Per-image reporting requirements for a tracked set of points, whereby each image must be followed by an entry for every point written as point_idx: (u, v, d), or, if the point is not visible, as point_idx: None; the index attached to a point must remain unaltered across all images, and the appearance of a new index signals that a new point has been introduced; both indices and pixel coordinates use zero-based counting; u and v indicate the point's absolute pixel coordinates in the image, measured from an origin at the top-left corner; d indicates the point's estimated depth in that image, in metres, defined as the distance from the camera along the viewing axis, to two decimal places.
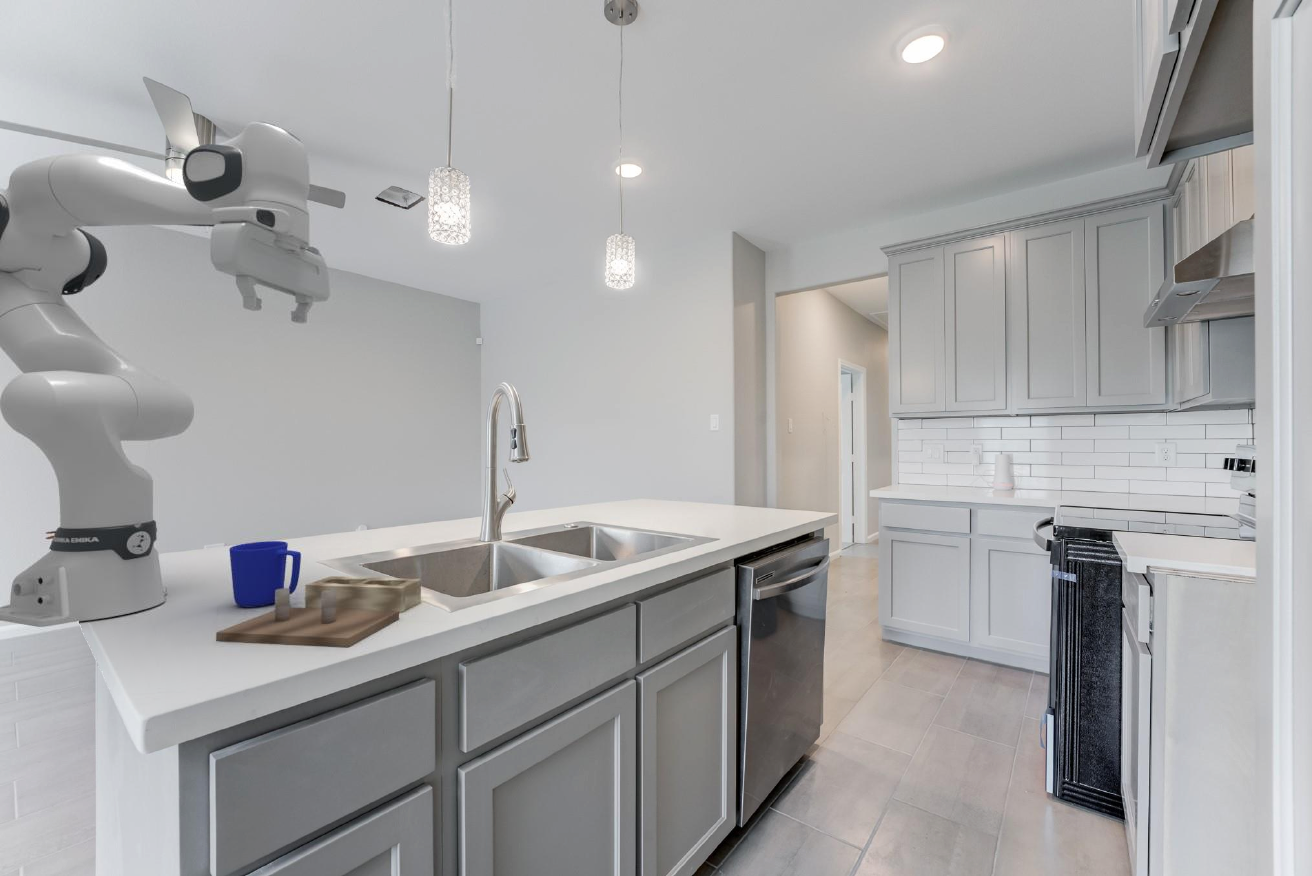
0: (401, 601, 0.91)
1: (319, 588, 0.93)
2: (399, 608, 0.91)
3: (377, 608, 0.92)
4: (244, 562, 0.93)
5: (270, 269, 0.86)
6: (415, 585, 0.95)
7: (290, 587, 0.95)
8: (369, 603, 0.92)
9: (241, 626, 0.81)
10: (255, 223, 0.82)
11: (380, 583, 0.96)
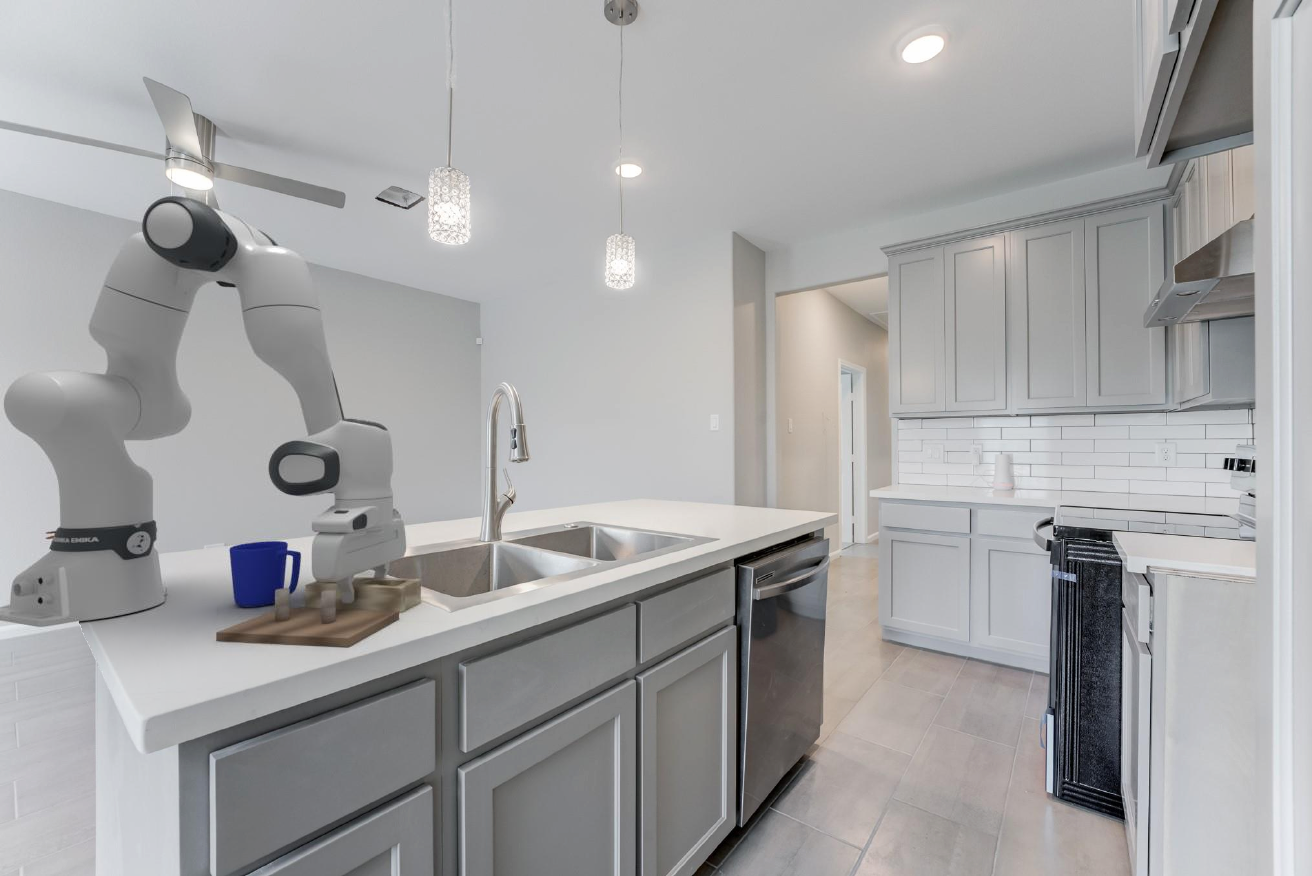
0: (401, 601, 0.91)
1: (319, 588, 0.93)
2: (399, 608, 0.91)
3: (377, 608, 0.92)
4: (244, 562, 0.93)
5: (361, 562, 0.92)
6: (415, 585, 0.95)
7: (290, 587, 0.95)
8: (369, 603, 0.92)
9: (241, 626, 0.81)
10: (351, 532, 0.88)
11: (380, 583, 0.96)
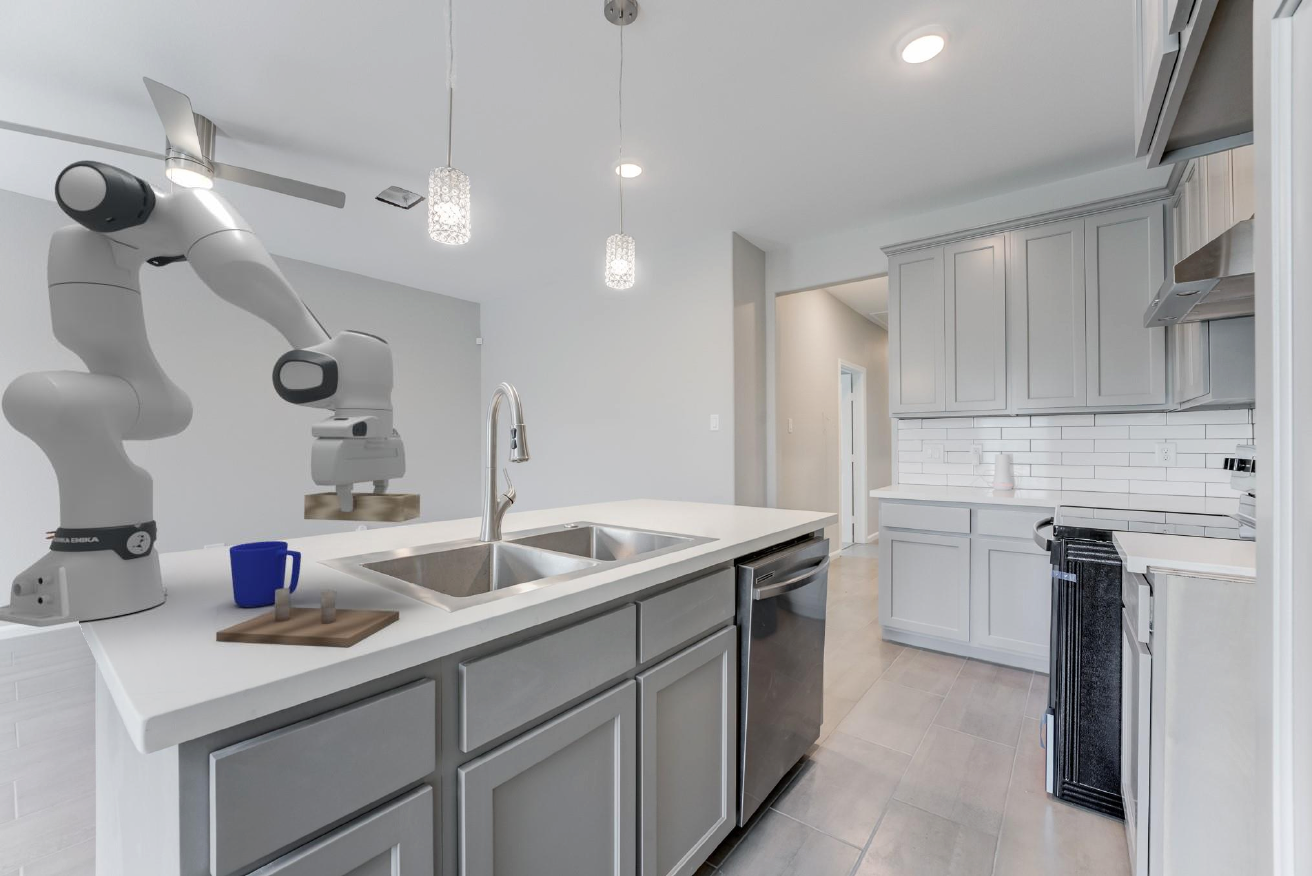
0: (400, 511, 0.91)
1: (318, 498, 0.93)
2: (398, 517, 0.91)
3: (376, 518, 0.92)
4: (244, 562, 0.93)
5: (360, 471, 0.92)
6: (414, 498, 0.95)
7: (290, 587, 0.95)
8: (368, 513, 0.92)
9: (241, 626, 0.81)
10: (351, 437, 0.88)
11: None
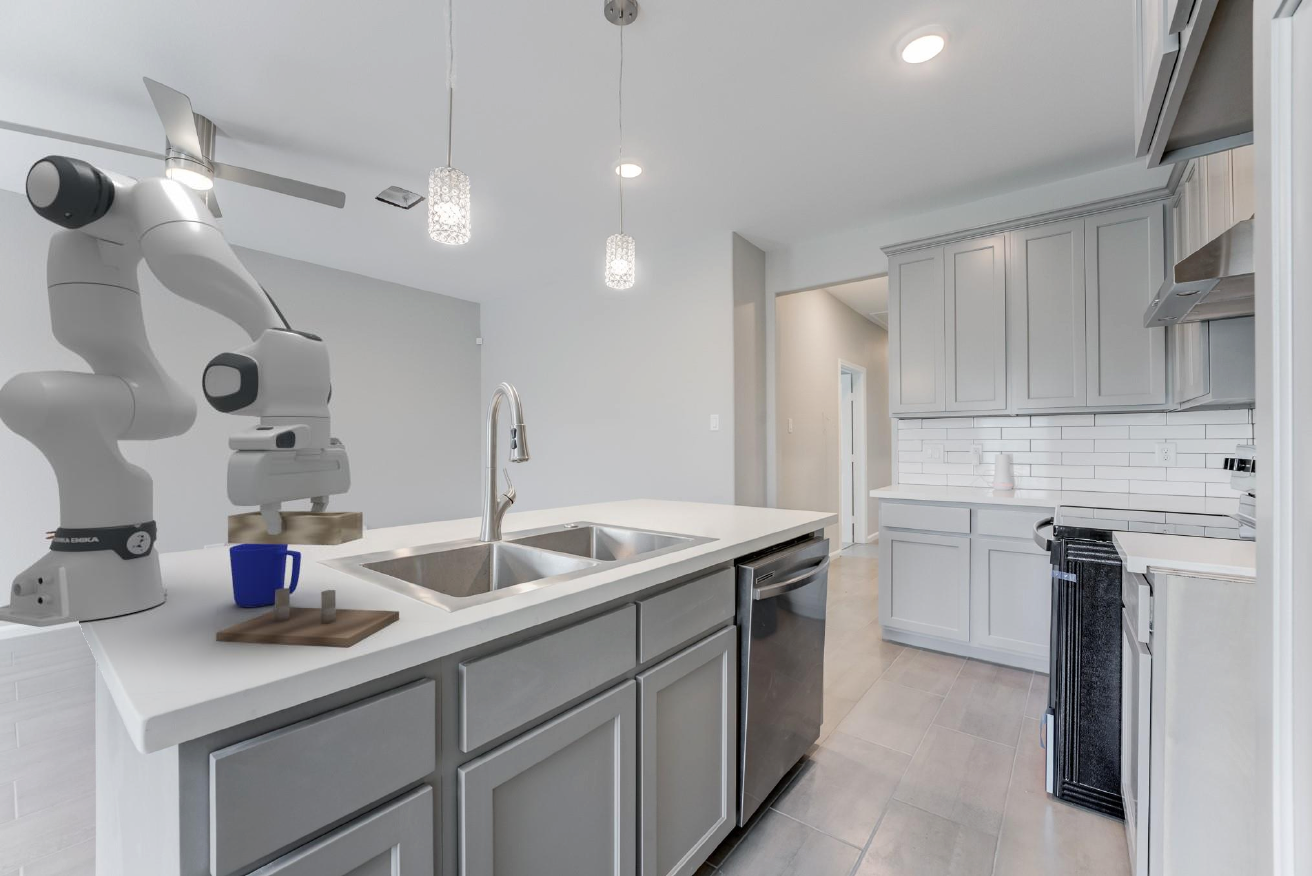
0: (336, 532, 0.80)
1: (243, 519, 0.81)
2: (333, 540, 0.80)
3: (309, 541, 0.80)
4: (244, 562, 0.93)
5: (289, 488, 0.80)
6: (355, 517, 0.84)
7: (290, 587, 0.95)
8: (300, 535, 0.80)
9: (241, 626, 0.81)
10: (275, 450, 0.76)
11: (316, 516, 0.85)
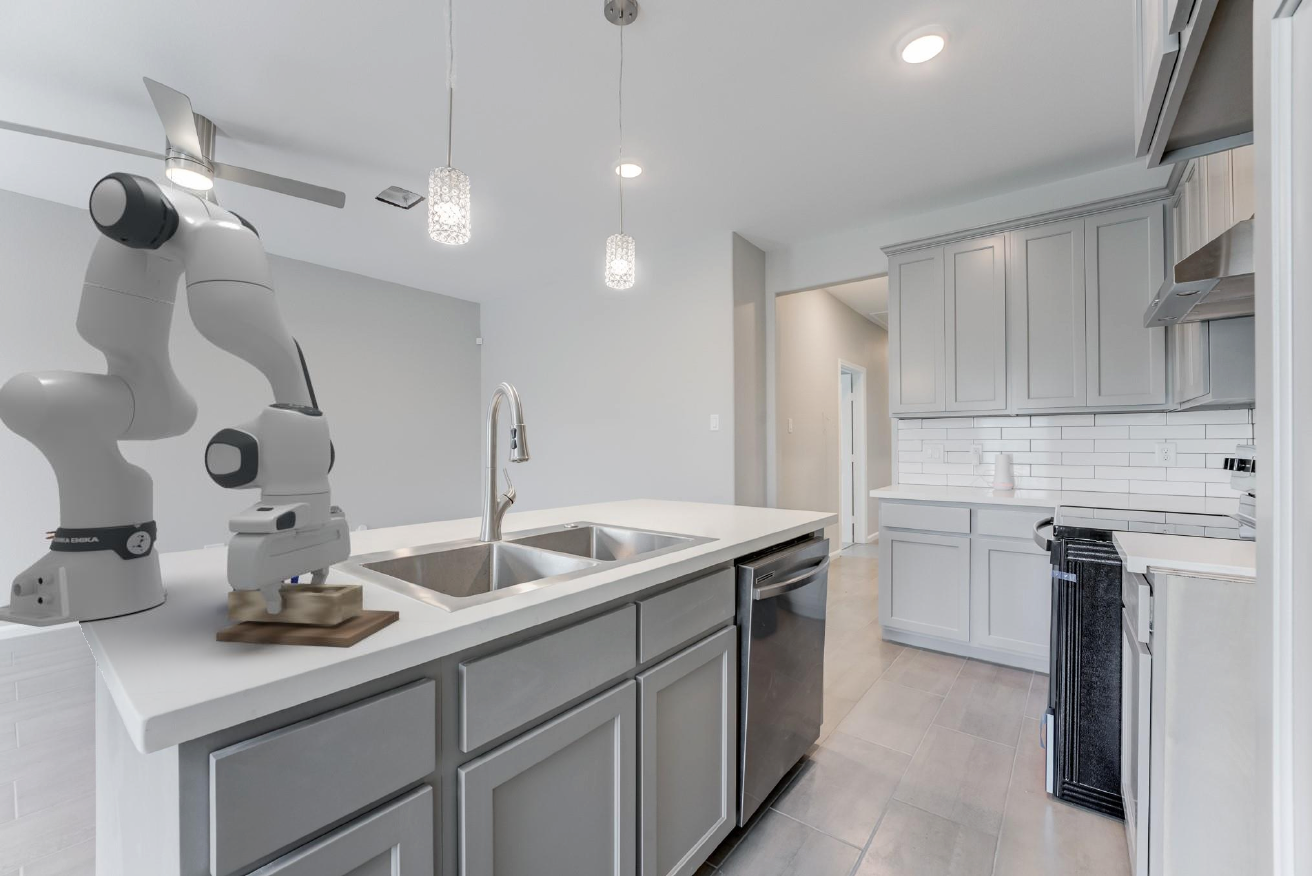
0: (336, 611, 0.80)
1: (243, 596, 0.81)
2: (333, 619, 0.80)
3: (309, 619, 0.80)
4: None
5: (290, 567, 0.80)
6: (355, 592, 0.84)
7: None
8: (300, 613, 0.80)
9: (241, 626, 0.81)
10: (275, 532, 0.76)
11: (316, 590, 0.85)
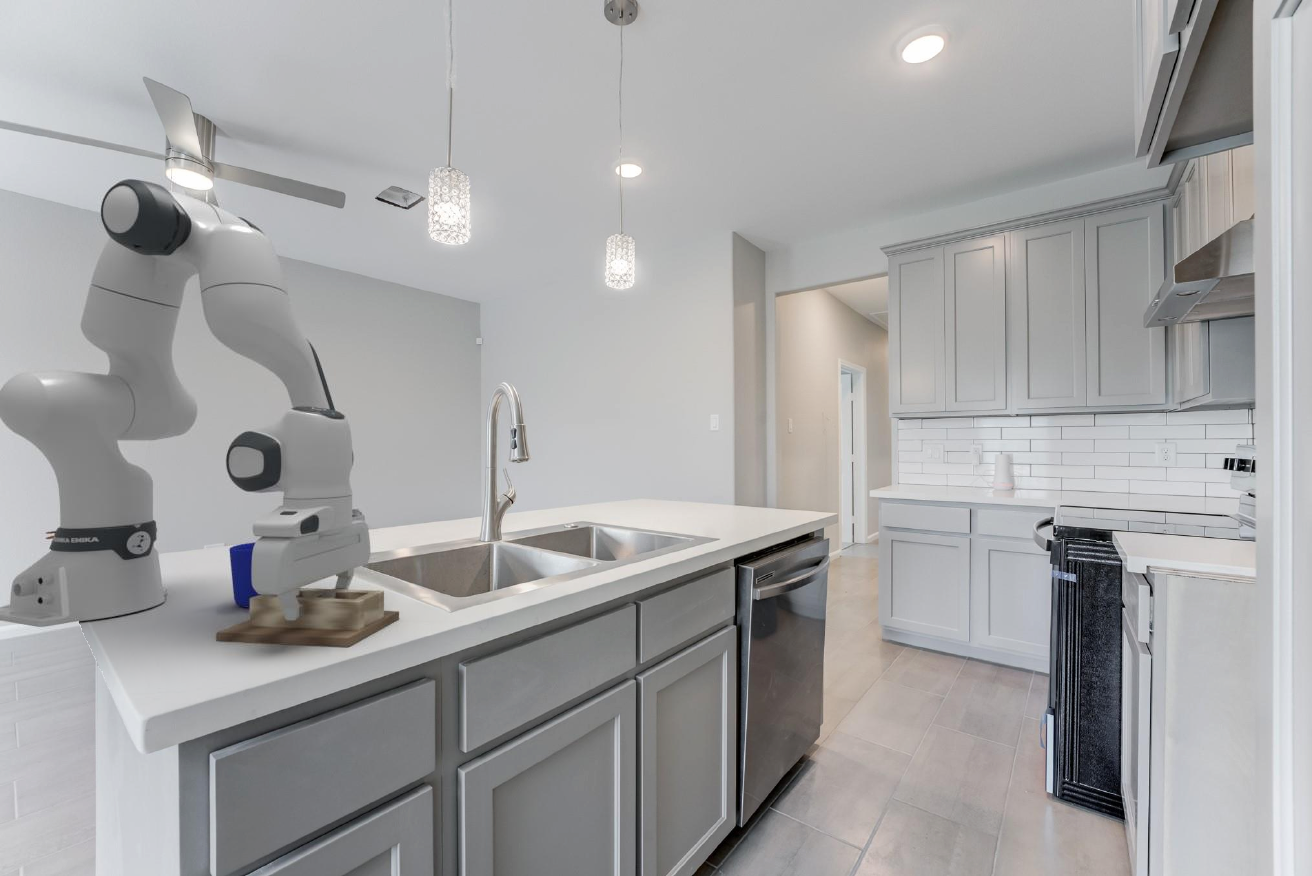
0: (359, 617, 0.79)
1: (265, 602, 0.81)
2: (356, 625, 0.79)
3: (331, 625, 0.80)
4: (244, 562, 0.93)
5: (312, 571, 0.80)
6: (377, 597, 0.83)
7: None
8: (322, 619, 0.80)
9: (241, 626, 0.81)
10: (299, 536, 0.76)
11: (337, 596, 0.84)
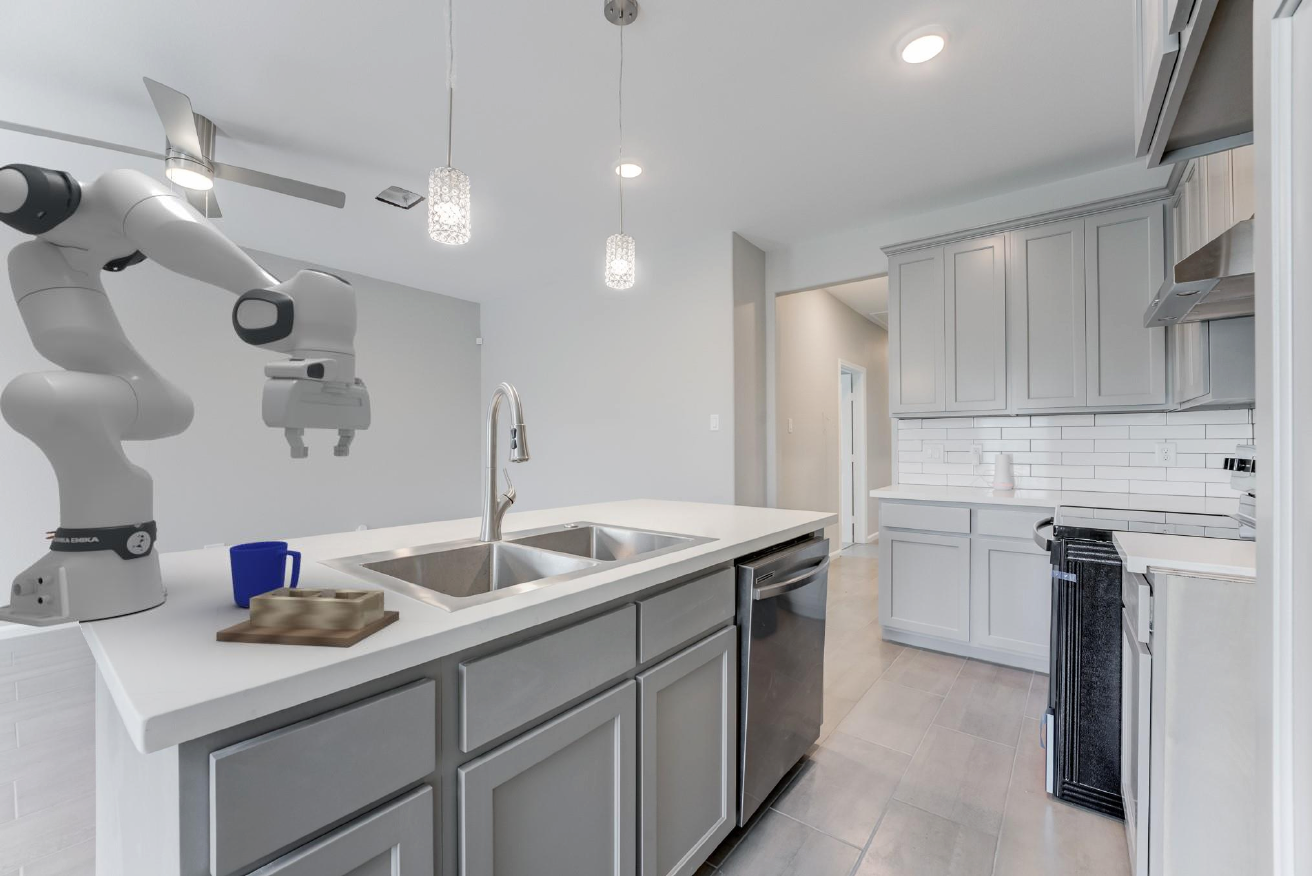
0: (359, 617, 0.79)
1: (265, 602, 0.81)
2: (356, 625, 0.79)
3: (331, 625, 0.80)
4: (244, 562, 0.93)
5: (317, 417, 0.87)
6: (377, 597, 0.83)
7: (290, 587, 0.95)
8: (322, 619, 0.80)
9: (241, 626, 0.81)
10: (306, 378, 0.83)
11: (337, 596, 0.84)
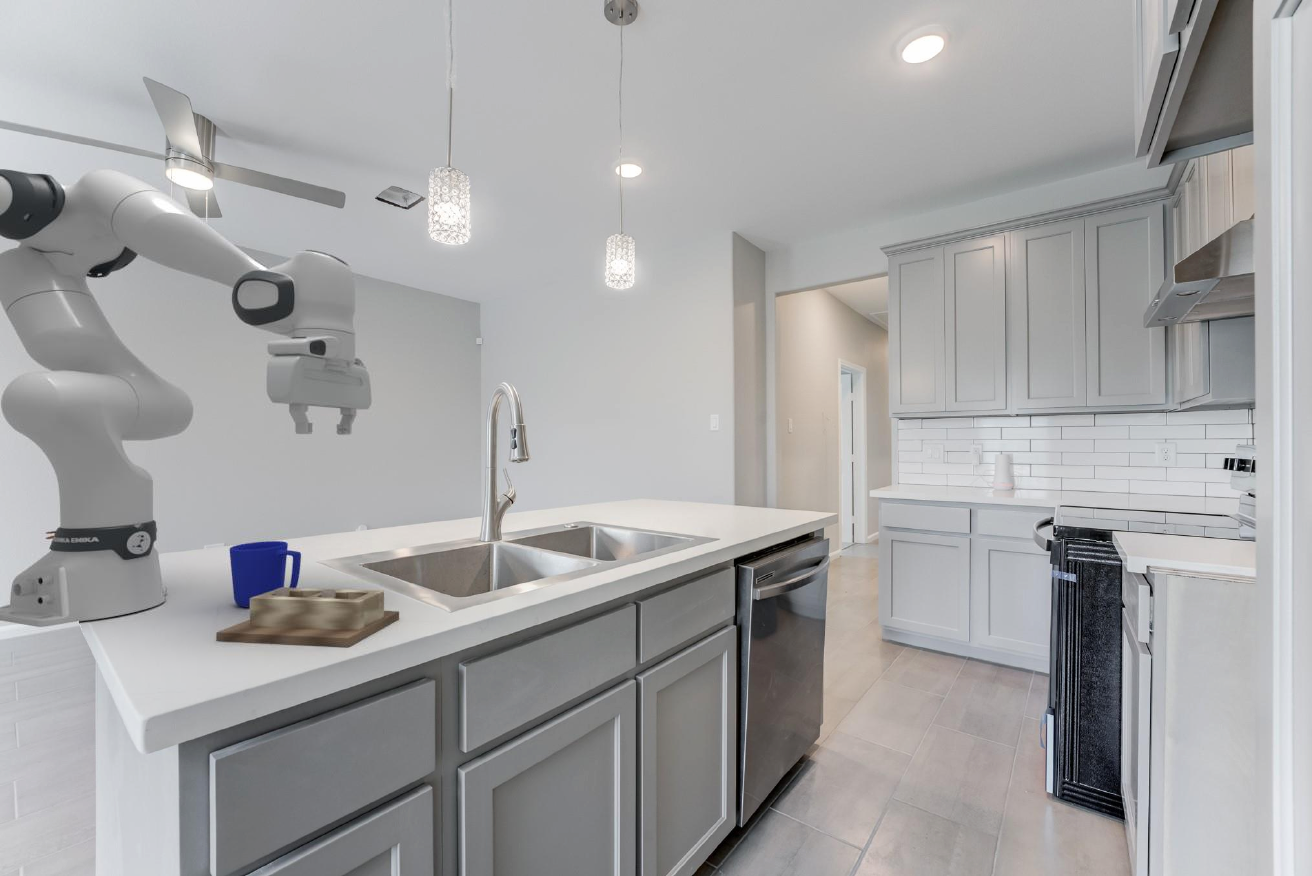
0: (359, 617, 0.79)
1: (265, 602, 0.81)
2: (356, 625, 0.79)
3: (331, 625, 0.80)
4: (244, 562, 0.93)
5: (320, 393, 0.89)
6: (377, 597, 0.83)
7: (290, 587, 0.95)
8: (322, 619, 0.80)
9: (241, 626, 0.81)
10: (308, 355, 0.85)
11: (337, 596, 0.84)
